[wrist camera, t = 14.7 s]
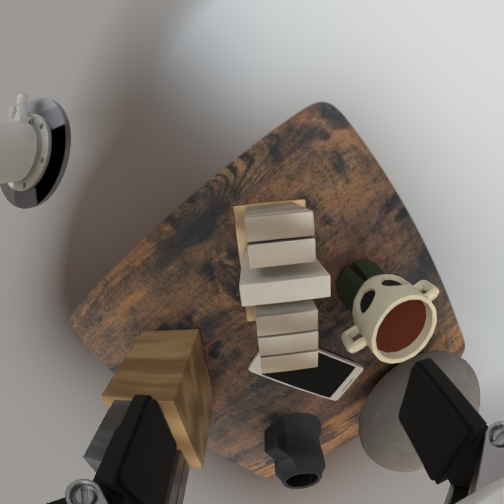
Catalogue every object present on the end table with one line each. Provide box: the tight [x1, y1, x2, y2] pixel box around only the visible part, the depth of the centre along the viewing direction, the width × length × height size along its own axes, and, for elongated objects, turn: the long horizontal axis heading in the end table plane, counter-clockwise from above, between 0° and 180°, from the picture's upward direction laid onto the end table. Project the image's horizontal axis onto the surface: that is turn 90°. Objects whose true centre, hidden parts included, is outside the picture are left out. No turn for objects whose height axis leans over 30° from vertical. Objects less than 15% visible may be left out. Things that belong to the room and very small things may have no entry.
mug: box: [265, 413, 325, 489], centre depth 35 cm, size 12×9×11 cm
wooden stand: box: [83, 329, 214, 504], centre depth 26 cm, size 12×8×22 cm, turn 6°
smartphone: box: [248, 348, 363, 401], centre depth 36 cm, size 7×15×1 cm, turn 62°
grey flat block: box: [239, 251, 331, 307], centre depth 27 cm, size 2×7×11 cm, turn 96°
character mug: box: [337, 260, 439, 364], centre depth 28 cm, size 11×7×13 cm, turn 122°
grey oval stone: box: [359, 351, 480, 472], centre depth 28 cm, size 18×7×19 cm, turn 132°
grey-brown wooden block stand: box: [233, 199, 318, 374], centre depth 27 cm, size 14×8×12 cm, turn 6°
